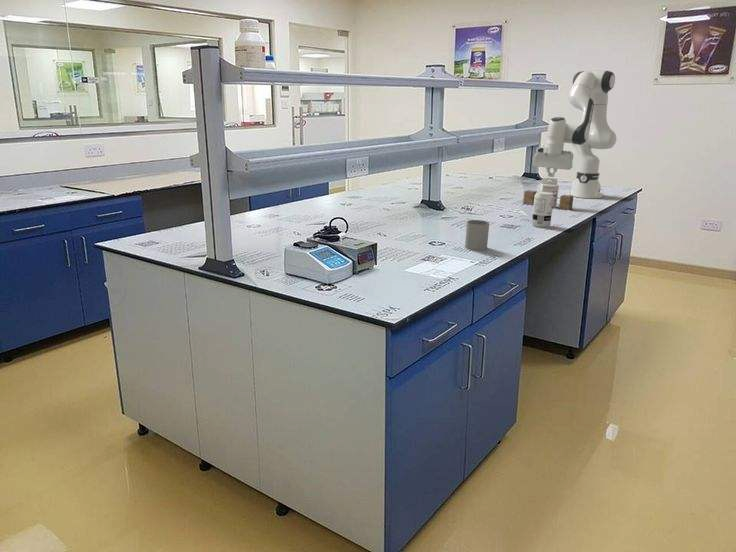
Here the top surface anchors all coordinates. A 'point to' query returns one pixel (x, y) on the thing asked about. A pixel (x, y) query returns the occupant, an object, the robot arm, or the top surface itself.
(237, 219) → the top surface
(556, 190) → the ink box
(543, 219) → the supplement can
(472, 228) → the cup
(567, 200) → the digit block one
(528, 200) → the digit block seven
